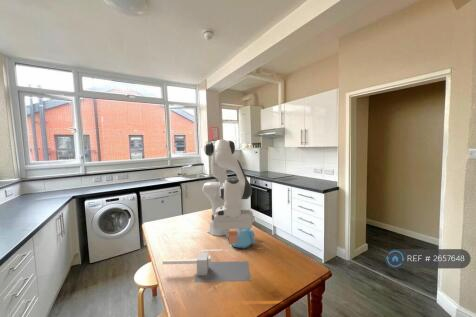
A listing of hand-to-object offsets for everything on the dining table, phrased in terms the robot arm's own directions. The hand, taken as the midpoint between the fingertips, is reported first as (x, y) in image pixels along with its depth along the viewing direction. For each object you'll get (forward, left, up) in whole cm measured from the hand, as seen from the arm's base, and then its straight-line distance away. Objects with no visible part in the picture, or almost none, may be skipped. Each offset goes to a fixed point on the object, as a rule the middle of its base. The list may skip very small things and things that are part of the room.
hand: (232, 236), depth 99 cm
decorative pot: (-28, +5, -19) cm, 35 cm away
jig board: (+1, -5, -19) cm, 19 cm away
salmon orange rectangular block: (0, 0, -1) cm, 1 cm away
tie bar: (+1, -24, -13) cm, 27 cm away
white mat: (-15, -14, -19) cm, 27 cm away
